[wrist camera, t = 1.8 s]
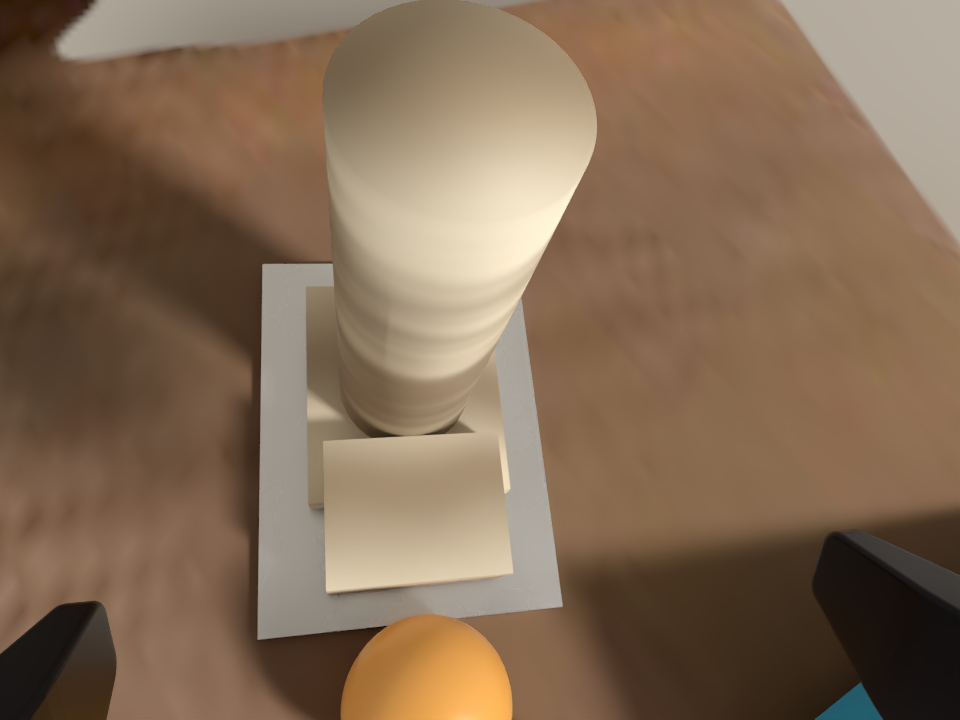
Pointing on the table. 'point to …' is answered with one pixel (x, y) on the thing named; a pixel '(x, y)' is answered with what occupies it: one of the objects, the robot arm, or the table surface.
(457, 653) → the ball
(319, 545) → the grey rectangular plate
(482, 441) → the beige peg stand
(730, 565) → the table surface
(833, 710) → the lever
